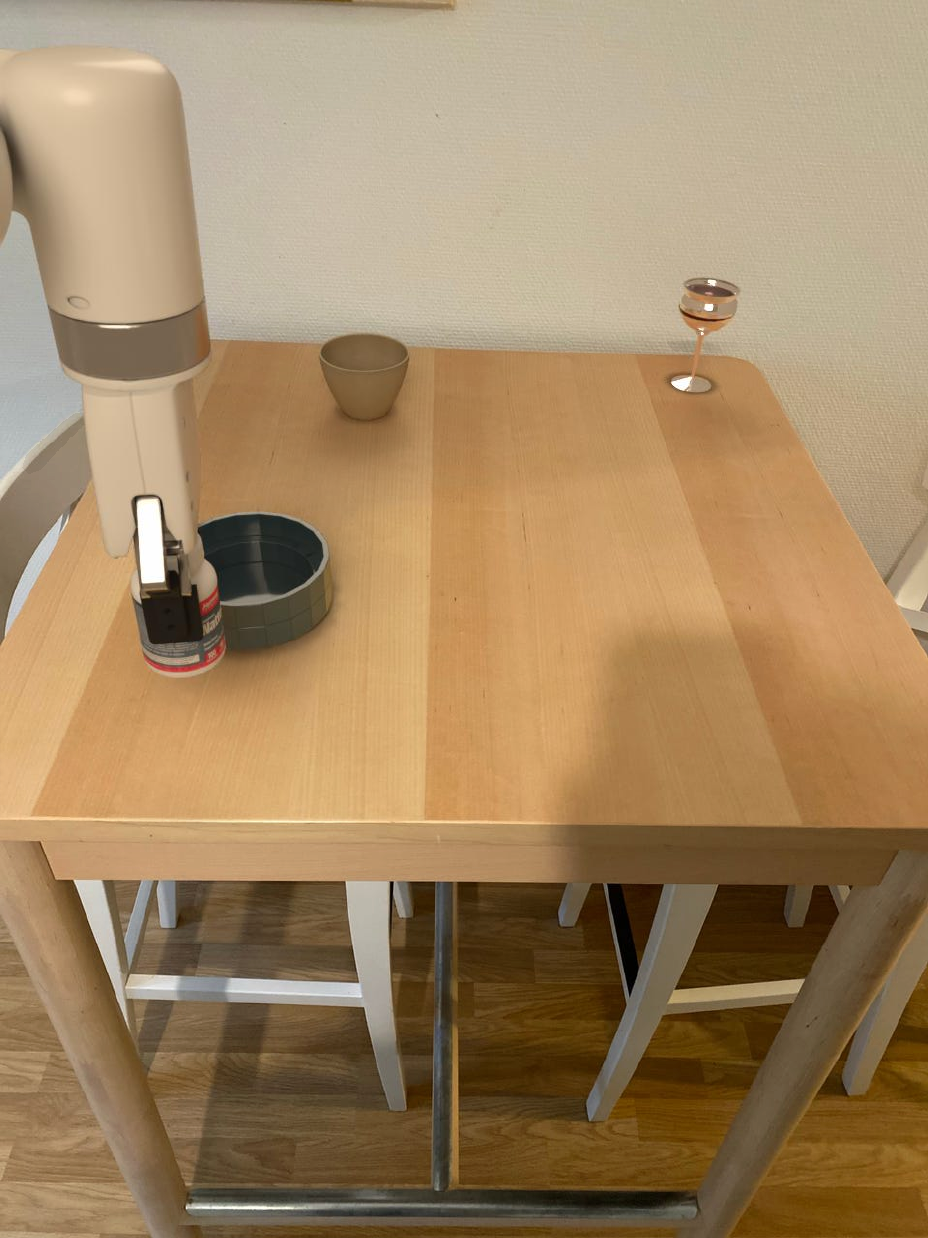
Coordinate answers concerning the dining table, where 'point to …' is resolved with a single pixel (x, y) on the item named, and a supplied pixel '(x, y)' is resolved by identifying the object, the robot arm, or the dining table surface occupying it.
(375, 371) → the flower pot
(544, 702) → the dining table surface
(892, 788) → the dining table surface
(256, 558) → the bowl
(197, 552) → the pill bottle
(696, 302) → the wineglass
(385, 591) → the dining table surface
